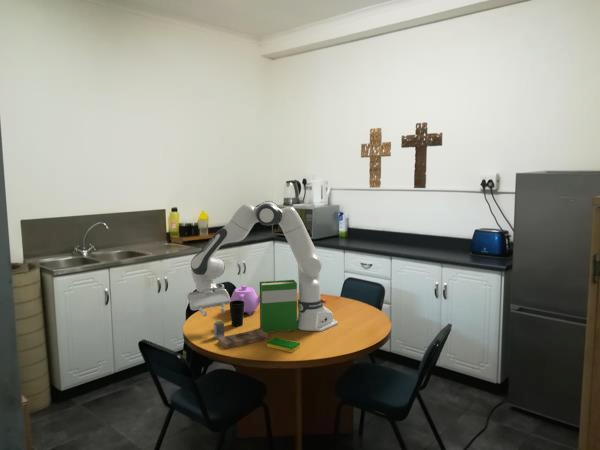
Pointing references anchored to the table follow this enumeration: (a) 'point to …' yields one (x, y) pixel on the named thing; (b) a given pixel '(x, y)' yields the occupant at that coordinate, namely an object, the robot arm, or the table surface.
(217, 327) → the lever cap
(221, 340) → the brown flat board
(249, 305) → the teapot
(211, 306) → the robot arm
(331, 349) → the table surface
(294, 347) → the dish sponge
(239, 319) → the cup
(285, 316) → the hardback book
